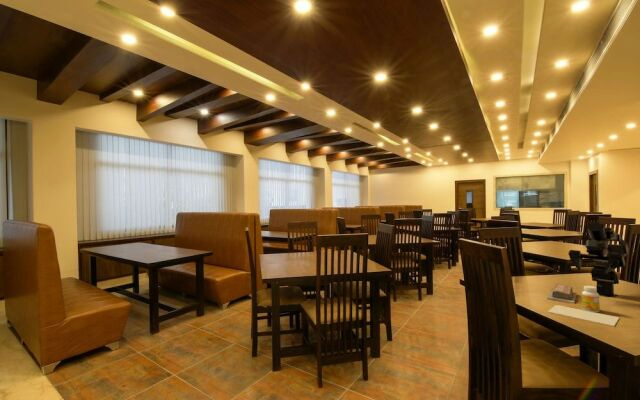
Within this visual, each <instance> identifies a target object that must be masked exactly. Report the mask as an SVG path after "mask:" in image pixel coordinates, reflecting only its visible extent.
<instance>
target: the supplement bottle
mask: <svg viewBox="0 0 640 400" xmlns="http://www.w3.org/2000/svg"><path fill="white" fill-rule="evenodd" d="M581 305H582V306H581V307H582V310H584V311H589V312H594V313H599V312H600V295H599V294H598V293H597V288H596V286H592V285H584V286H583V290H582V292H581Z"/></svg>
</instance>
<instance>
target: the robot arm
mask: <svg viewBox="0 0 640 400" xmlns="http://www.w3.org/2000/svg"><path fill="white" fill-rule="evenodd" d="M587 231H588V234H589V237H590V239H587V240H586V241H585V248H586V250H585V251H586V253H582V252H581V250H576V249H570V250H569V251H568V253H567V254H568V256H569V259H570V262H573V263H574V264H576V267H577V271H580V270H581V268H582V263H583V262H582V261H583V260H584V259H587V260H590V261H595V264H594V265H593V266H592V267H593V268H591V269H590V277H591V281H592V282H596V286H595V287H596V288H597V291H596V292H597V293H598V294H599V296H602V297H603V296H604V297H607V298H609V297H617V296H619V295H618V294H616V293H615V285H619V284H620V280H619V276H618V274H617V272H616V270H615V269H620V268H624V267H626V266H625V265H626V261H625V258H626V256H627V255H629V247H628V242H627V241H625V240H624V239H623V237H622V235H621V234H620V233H617V232H616V231H615V230H614V229H613V228H612V227H607V226H605V227H604V225H603V224H602V223H601V222H600V221H594V223H590V224H589V225H587ZM610 242H618V244H616V243H615V244H614V243H612V244H611V243H610ZM596 261H597V262H596Z"/></svg>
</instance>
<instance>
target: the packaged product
mask: <svg viewBox="0 0 640 400" xmlns="http://www.w3.org/2000/svg"><path fill="white" fill-rule="evenodd" d="M577 294H578V293H577V292H575V291H574V292H573V287H572V286H571V285H569V284H560V283H556V284H555V286H554V288H551V289H550V291H549V293H548V295H547V296H546V299H547V300H548V301H555V302H561V303H567V304H573V303H574V304H575V302H576V299H577Z"/></svg>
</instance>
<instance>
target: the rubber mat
mask: <svg viewBox="0 0 640 400" xmlns="http://www.w3.org/2000/svg"><path fill="white" fill-rule="evenodd" d="M547 313H550V314H554V315H559V316H562V317H563V316H565V317H568V318H573V319H578V320H582V321H586V322H590V323H597V324H600V325H605V326H610V327H615V326H616V324H617V323H618V321H619V320H620V316H619V317H618V316H614V315H609V314H605V313H604V314H603V313H599V312H590V311H586V310H584V309H578V308H573V307H568V306H563V305H559V304H555V305H554V306H552V307H551V308H550V309H549V310H547Z"/></svg>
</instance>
